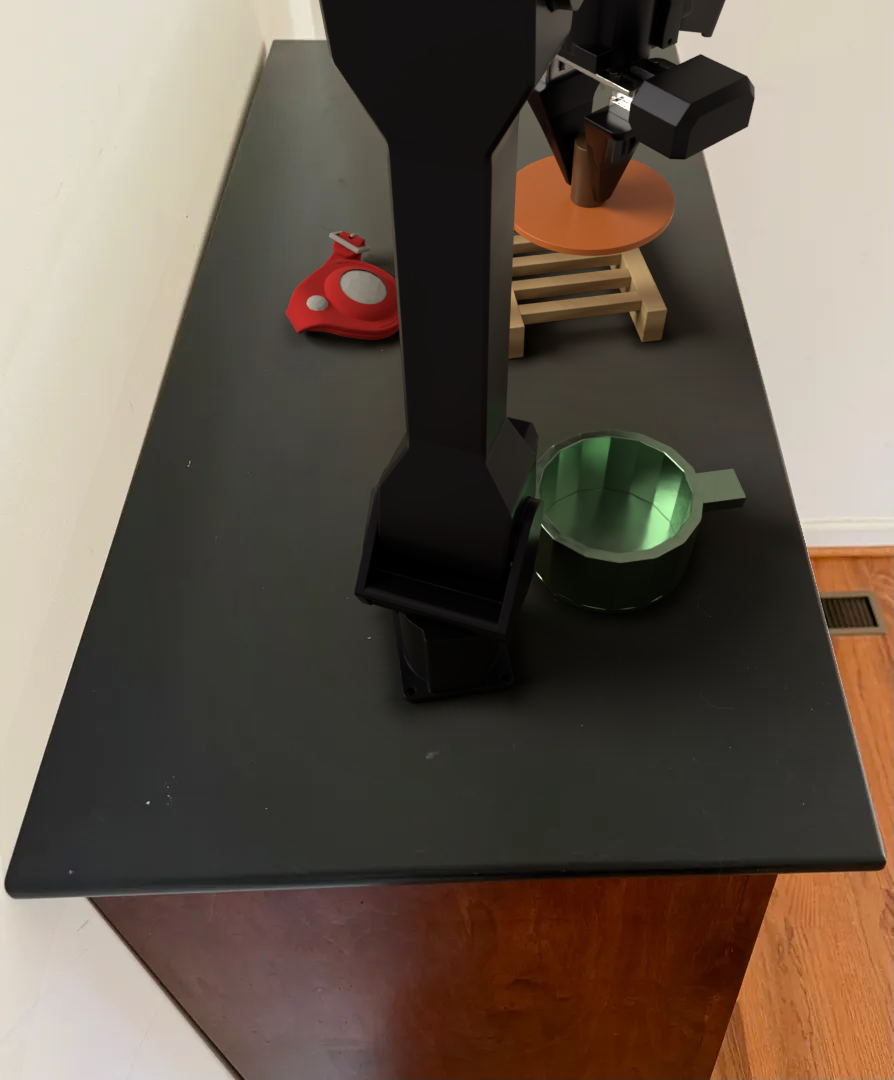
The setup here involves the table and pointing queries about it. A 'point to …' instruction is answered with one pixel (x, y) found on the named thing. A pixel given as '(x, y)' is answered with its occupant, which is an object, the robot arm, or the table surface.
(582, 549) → the pot
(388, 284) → the tracker holder
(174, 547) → the table surface
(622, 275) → the rack
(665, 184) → the lid
